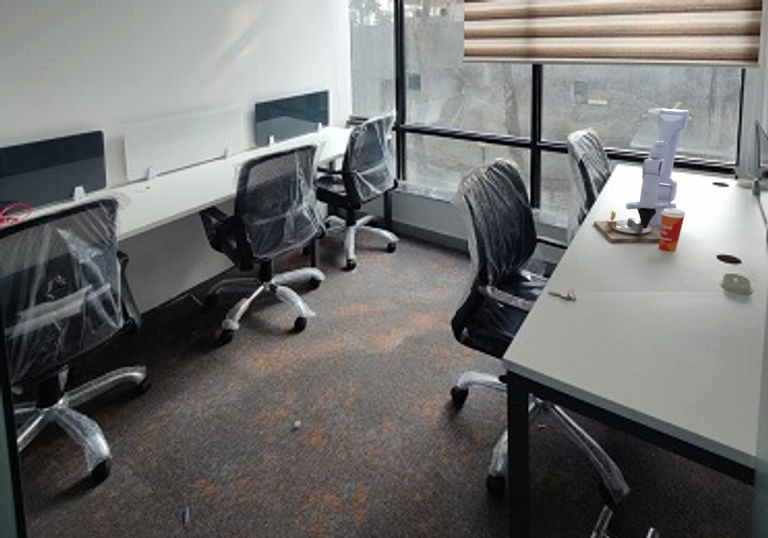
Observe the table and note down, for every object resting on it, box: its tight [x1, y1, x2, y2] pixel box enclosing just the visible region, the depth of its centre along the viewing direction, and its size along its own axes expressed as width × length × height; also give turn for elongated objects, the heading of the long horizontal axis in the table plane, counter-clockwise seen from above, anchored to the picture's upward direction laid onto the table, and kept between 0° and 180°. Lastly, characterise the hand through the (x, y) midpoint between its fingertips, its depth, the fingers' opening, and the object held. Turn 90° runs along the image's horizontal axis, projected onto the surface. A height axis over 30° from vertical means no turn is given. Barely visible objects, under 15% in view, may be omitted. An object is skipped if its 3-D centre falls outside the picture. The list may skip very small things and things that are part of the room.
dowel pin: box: [609, 210, 617, 220], centre depth 237 cm, size 2×2×5 cm
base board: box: [593, 220, 660, 244], centre depth 232 cm, size 21×21×2 cm
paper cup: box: [658, 207, 686, 253], centre depth 214 cm, size 8×8×14 cm
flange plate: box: [606, 217, 651, 234], centre depth 230 cm, size 16×16×4 cm
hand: (643, 227), depth 227 cm, fingers closed
